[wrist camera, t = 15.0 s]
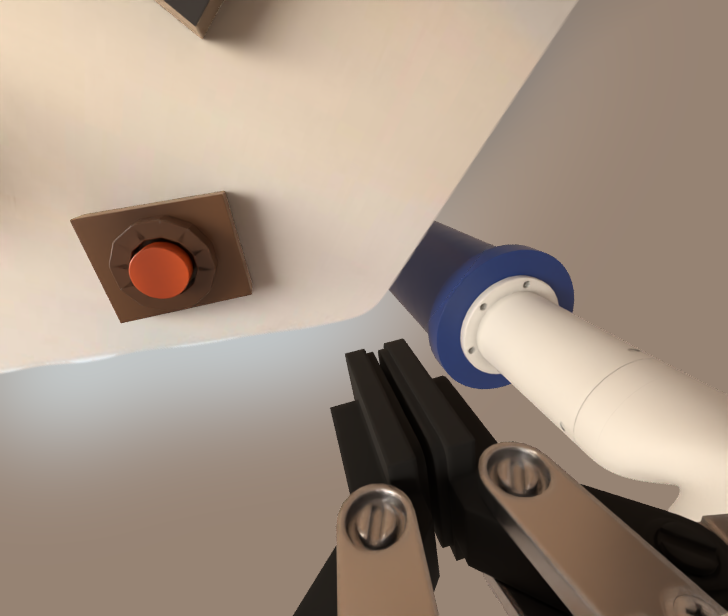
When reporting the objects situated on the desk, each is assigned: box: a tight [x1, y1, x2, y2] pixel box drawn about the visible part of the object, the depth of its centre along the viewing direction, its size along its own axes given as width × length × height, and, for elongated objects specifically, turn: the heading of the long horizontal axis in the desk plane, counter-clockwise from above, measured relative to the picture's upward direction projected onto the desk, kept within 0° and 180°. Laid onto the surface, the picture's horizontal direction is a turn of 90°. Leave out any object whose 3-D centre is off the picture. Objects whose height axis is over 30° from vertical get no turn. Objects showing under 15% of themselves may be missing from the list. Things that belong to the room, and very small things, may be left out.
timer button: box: [129, 242, 193, 299], centre depth 25 cm, size 4×4×2 cm
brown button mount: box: [70, 191, 253, 323], centre depth 27 cm, size 10×8×4 cm
